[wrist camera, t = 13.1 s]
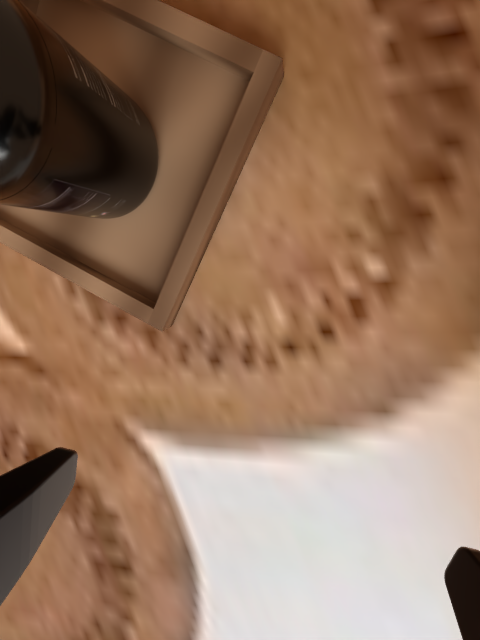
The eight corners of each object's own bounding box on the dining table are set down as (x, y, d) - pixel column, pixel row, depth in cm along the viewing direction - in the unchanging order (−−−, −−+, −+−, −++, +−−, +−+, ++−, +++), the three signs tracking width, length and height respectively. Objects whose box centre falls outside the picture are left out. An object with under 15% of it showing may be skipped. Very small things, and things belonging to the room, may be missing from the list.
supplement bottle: (45, 106, 18) (-403, -152, 7) (153, 81, 17) (-174, -300, 5) (68, 228, 19) (-270, 191, 8) (170, 214, 18) (-58, 147, 7)
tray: (283, 76, 16) (282, 58, 14) (171, 325, 20) (161, 331, 18) (39, -40, 17) (14, -67, 15) (-21, 220, 21) (-45, 217, 19)
